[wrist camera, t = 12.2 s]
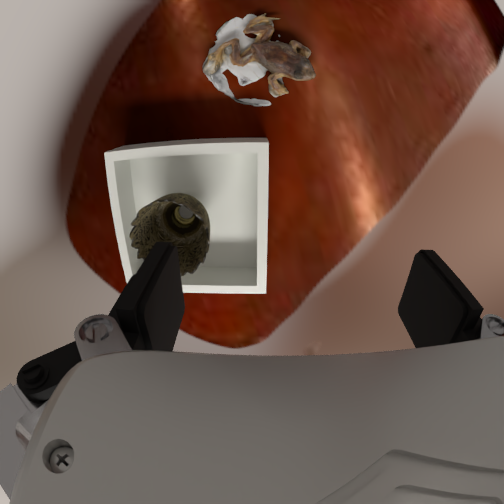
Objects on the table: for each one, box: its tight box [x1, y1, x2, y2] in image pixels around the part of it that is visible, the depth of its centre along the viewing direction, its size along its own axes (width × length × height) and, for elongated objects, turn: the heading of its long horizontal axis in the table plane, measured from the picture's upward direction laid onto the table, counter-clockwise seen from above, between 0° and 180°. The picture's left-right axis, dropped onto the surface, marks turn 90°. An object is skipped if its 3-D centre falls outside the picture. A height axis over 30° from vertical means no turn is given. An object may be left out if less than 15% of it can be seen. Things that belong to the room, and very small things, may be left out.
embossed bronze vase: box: [129, 193, 210, 276], centre depth 29 cm, size 8×7×8 cm
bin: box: [104, 138, 269, 294], centre depth 31 cm, size 16×16×5 cm
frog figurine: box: [203, 13, 316, 106], centre depth 24 cm, size 12×12×4 cm
